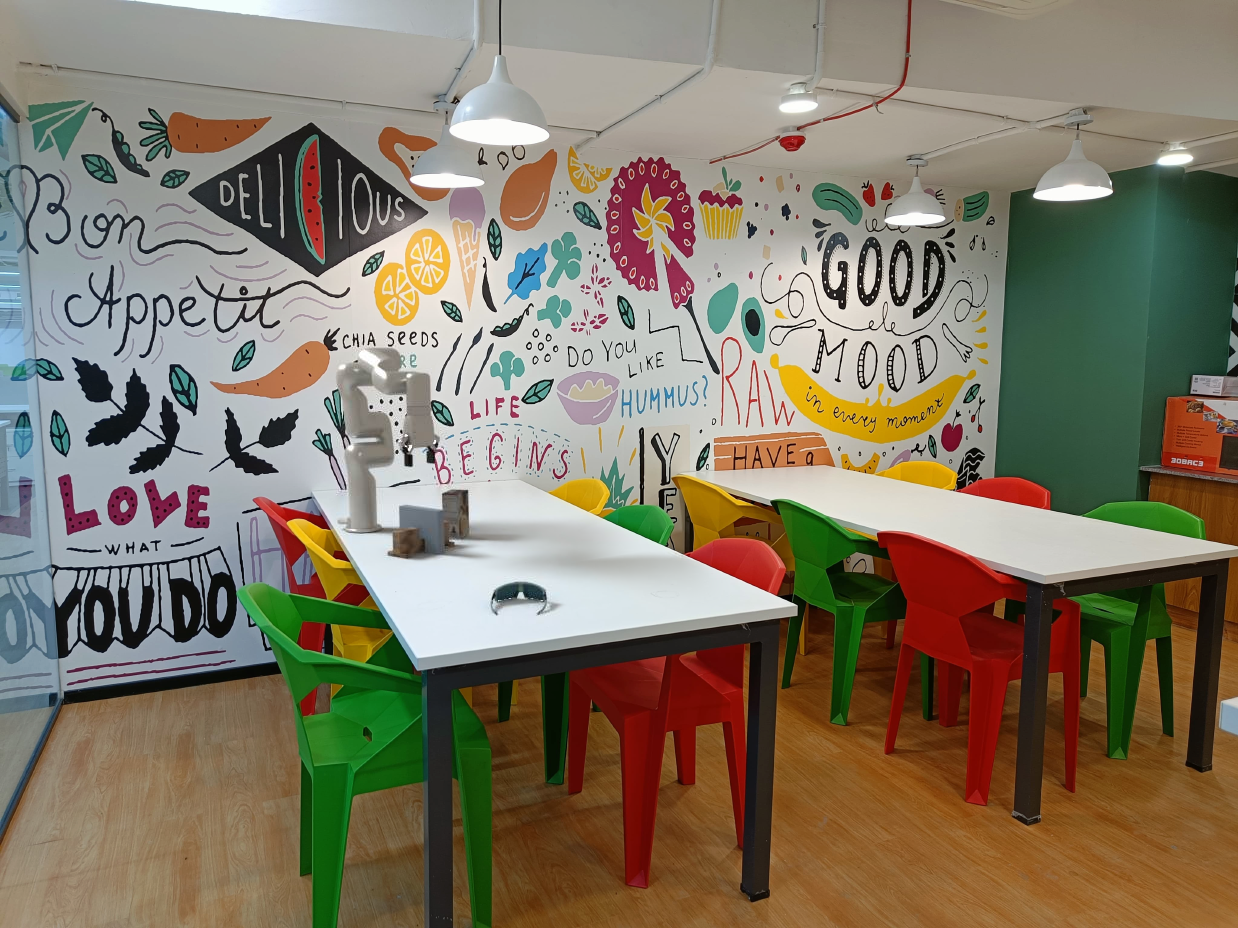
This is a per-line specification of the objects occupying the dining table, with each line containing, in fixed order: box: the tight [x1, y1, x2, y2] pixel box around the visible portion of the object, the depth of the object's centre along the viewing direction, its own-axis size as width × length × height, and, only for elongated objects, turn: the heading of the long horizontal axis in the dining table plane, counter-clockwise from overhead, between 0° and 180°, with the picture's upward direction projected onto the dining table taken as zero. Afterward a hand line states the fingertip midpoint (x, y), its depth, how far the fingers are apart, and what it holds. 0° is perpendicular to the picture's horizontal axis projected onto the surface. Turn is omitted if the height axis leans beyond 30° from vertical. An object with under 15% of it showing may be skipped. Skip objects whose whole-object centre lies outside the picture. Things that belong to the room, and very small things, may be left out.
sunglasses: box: [489, 581, 548, 616], centre depth 217 cm, size 14×15×5 cm
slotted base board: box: [387, 521, 456, 560], centre depth 277 cm, size 22×8×8 cm, turn 147°
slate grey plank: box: [398, 504, 446, 556], centre depth 276 cm, size 17×3×14 cm, turn 58°
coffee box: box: [441, 488, 470, 540], centre depth 297 cm, size 9×6×16 cm
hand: (419, 464), depth 274 cm, fingers open, 9 cm apart
